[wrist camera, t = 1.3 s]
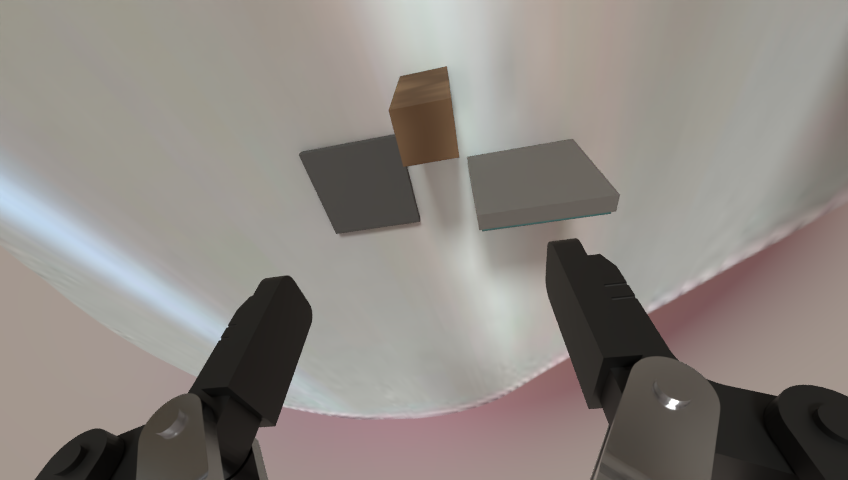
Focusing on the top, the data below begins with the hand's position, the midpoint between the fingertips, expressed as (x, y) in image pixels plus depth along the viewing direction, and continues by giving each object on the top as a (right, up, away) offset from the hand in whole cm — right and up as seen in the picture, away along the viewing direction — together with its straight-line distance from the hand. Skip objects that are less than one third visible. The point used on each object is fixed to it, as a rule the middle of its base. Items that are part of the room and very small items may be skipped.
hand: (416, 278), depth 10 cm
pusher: (+1, +13, +15) cm, 20 cm away
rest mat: (-5, +6, +21) cm, 22 cm away
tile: (+9, +9, +18) cm, 22 cm away
